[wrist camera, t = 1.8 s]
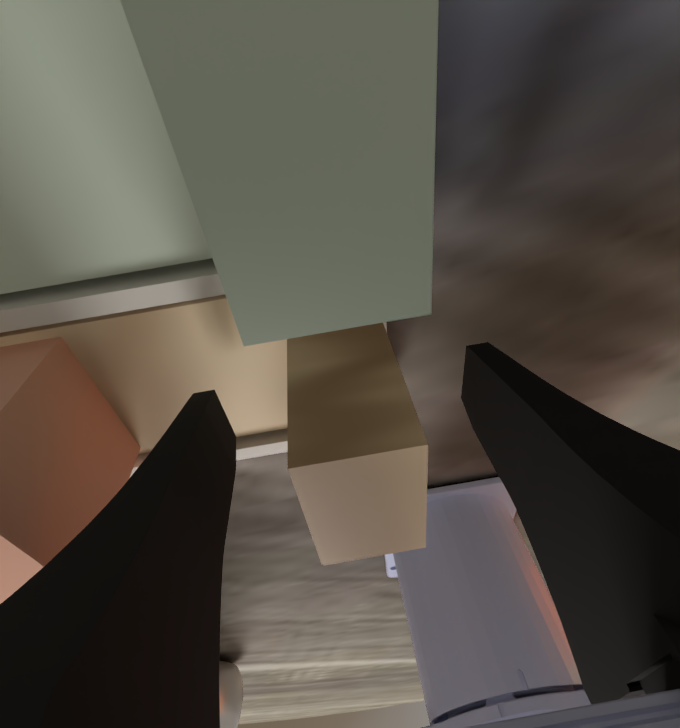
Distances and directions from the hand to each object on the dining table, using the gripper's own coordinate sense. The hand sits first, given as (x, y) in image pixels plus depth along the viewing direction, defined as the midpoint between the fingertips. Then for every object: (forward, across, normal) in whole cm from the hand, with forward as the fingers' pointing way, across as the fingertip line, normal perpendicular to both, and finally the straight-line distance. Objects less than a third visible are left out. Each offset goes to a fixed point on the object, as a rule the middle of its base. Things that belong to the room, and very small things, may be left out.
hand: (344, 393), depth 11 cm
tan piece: (+3, +6, 0) cm, 6 cm away
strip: (+3, +6, -7) cm, 9 cm away
